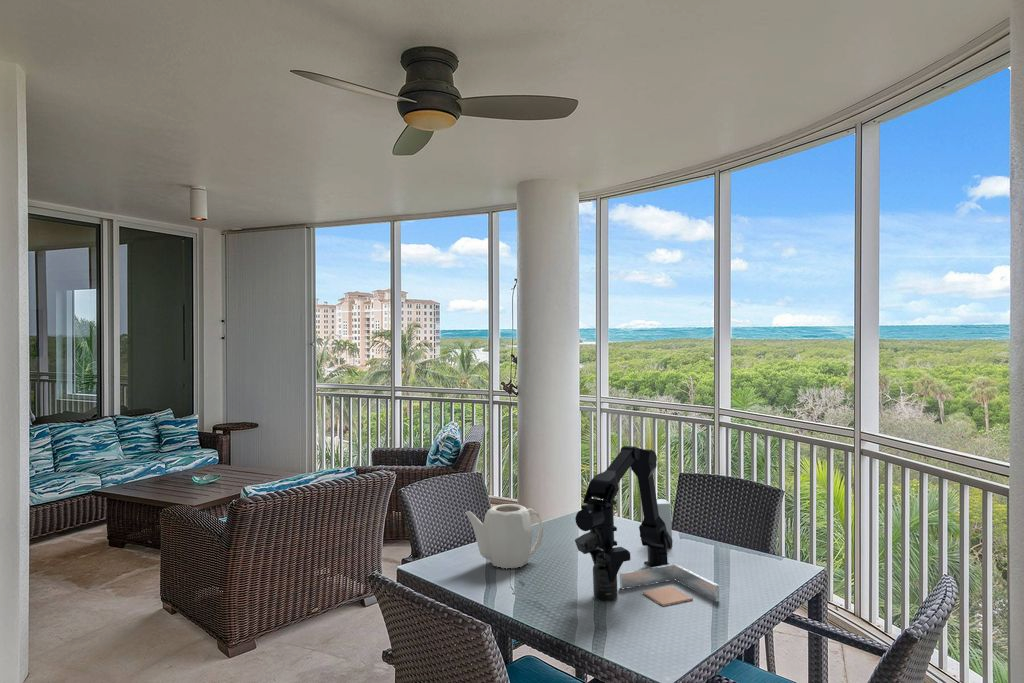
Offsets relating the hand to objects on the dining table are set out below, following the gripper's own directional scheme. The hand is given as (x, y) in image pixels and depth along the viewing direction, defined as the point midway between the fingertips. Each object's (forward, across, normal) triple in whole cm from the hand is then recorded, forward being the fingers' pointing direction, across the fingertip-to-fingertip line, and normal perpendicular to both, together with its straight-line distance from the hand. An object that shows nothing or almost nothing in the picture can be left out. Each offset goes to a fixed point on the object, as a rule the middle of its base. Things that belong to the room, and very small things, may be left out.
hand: (605, 577), depth 173 cm
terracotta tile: (+6, +7, +16) cm, 18 cm away
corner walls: (+6, +6, +17) cm, 19 cm away
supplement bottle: (+6, 0, 0) cm, 6 cm away
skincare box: (+6, -34, +43) cm, 55 cm away
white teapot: (+6, -38, -16) cm, 42 cm away
